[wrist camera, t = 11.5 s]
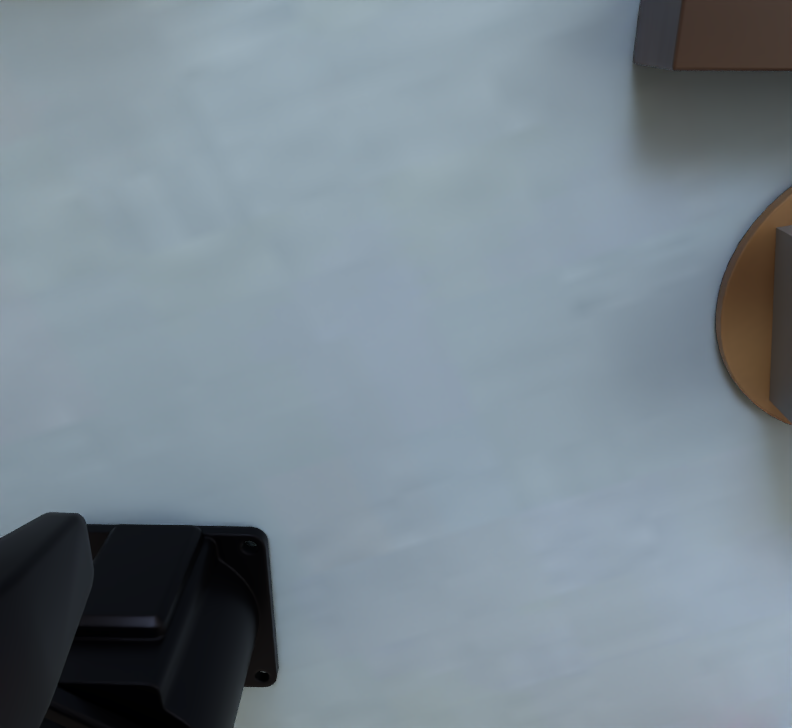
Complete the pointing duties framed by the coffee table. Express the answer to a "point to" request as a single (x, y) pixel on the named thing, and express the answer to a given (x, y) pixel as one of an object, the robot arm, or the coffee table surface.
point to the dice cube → (782, 325)
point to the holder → (715, 35)
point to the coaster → (752, 306)
